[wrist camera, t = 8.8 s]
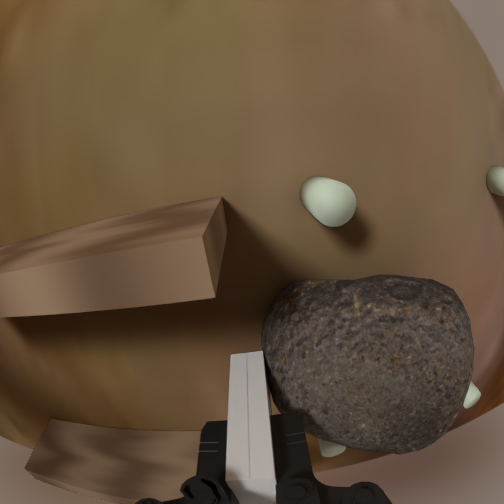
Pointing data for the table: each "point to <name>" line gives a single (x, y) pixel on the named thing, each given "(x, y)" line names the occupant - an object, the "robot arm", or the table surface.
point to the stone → (370, 359)
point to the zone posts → (340, 212)
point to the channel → (107, 298)
